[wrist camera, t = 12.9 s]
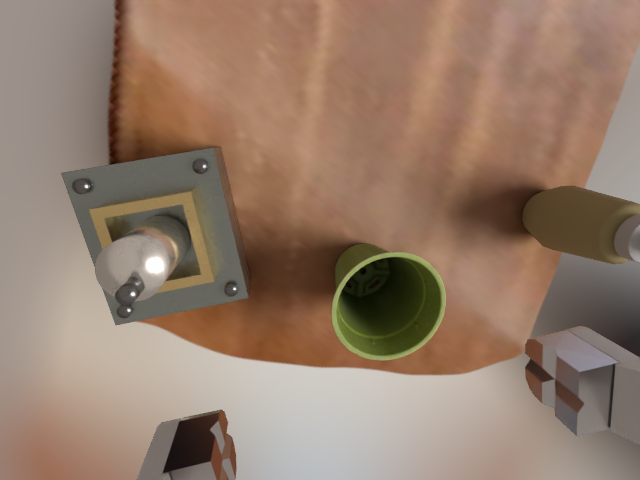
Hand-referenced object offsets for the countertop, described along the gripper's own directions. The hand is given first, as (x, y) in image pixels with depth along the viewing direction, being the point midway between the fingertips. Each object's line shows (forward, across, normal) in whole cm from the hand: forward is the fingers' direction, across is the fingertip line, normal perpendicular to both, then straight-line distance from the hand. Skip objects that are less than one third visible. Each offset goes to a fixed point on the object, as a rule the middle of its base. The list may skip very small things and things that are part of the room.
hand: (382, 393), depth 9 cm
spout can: (+29, +14, +1) cm, 32 cm away
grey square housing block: (+35, +14, +1) cm, 38 cm away
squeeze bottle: (+35, -32, +8) cm, 48 cm away
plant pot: (+35, -7, +11) cm, 38 cm away
